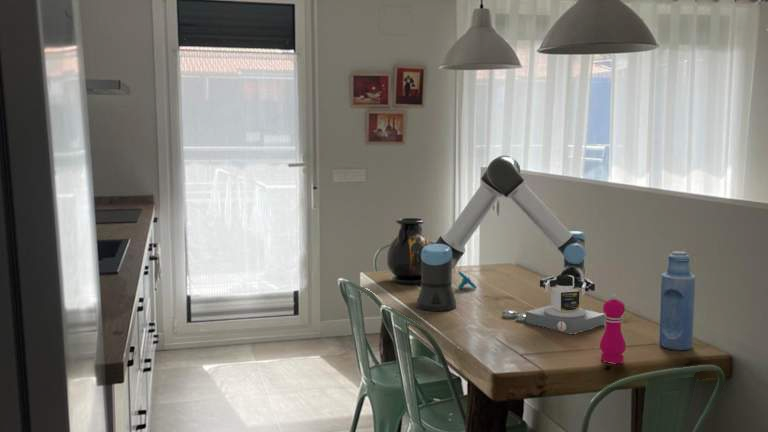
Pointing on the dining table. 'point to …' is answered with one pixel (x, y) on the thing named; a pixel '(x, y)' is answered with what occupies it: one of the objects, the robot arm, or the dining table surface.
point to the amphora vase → (407, 252)
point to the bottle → (677, 303)
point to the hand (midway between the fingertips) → (564, 289)
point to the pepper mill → (613, 331)
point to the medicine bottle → (565, 294)
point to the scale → (565, 319)
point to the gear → (465, 281)
